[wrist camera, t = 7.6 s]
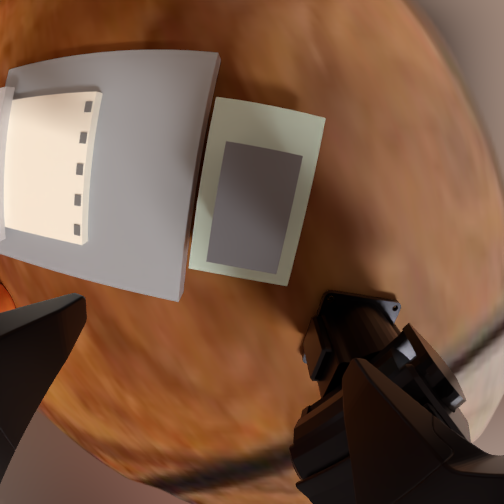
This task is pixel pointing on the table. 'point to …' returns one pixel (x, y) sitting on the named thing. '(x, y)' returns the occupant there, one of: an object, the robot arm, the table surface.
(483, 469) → the robot arm
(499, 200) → the table surface
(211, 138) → the gray block on plate
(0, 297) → the paper cup
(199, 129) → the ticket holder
